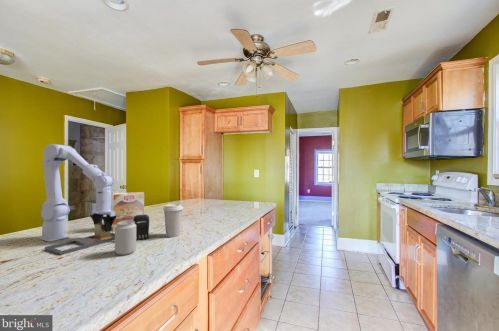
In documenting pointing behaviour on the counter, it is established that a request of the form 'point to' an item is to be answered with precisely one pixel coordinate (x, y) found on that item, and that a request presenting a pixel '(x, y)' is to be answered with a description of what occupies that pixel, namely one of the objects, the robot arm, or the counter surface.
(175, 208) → the coffee cup
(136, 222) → the battery charger
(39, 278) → the counter surface
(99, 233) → the brass block
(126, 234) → the can
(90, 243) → the gray rectangular frame
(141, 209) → the coffeecake box
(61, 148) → the robot arm
